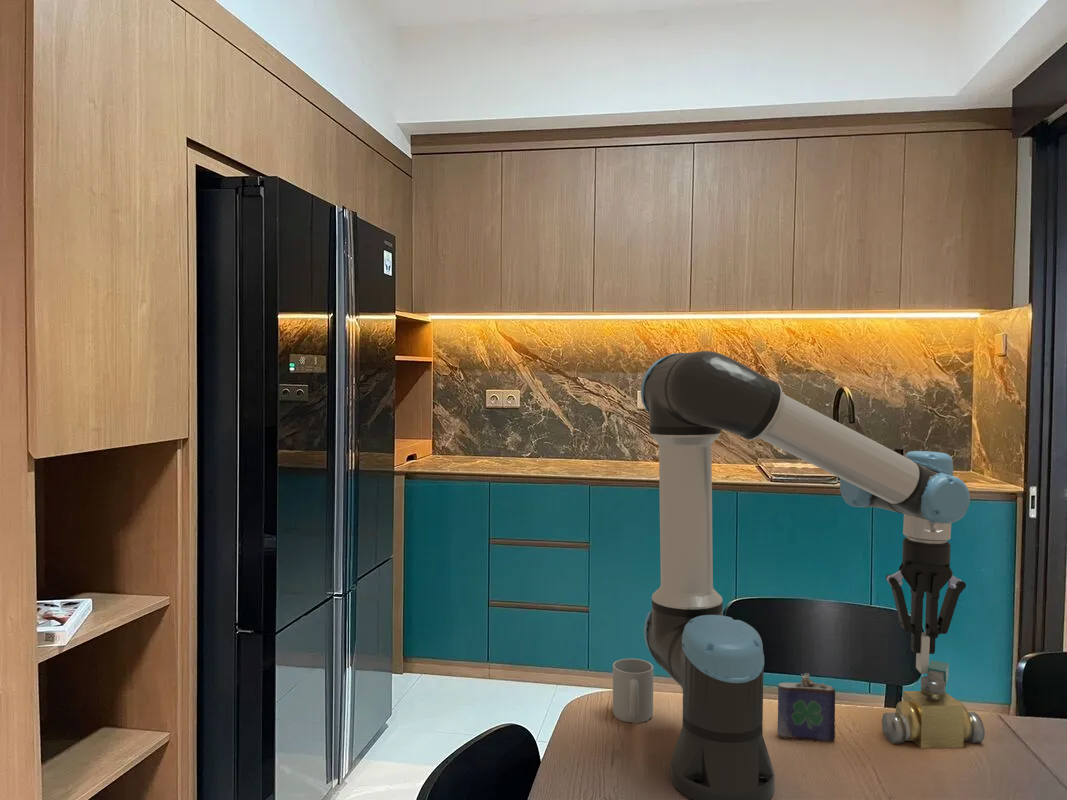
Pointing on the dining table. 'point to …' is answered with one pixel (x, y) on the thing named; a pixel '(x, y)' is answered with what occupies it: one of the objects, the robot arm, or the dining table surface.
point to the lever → (935, 680)
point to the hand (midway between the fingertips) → (922, 670)
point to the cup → (633, 690)
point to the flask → (806, 711)
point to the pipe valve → (932, 722)
